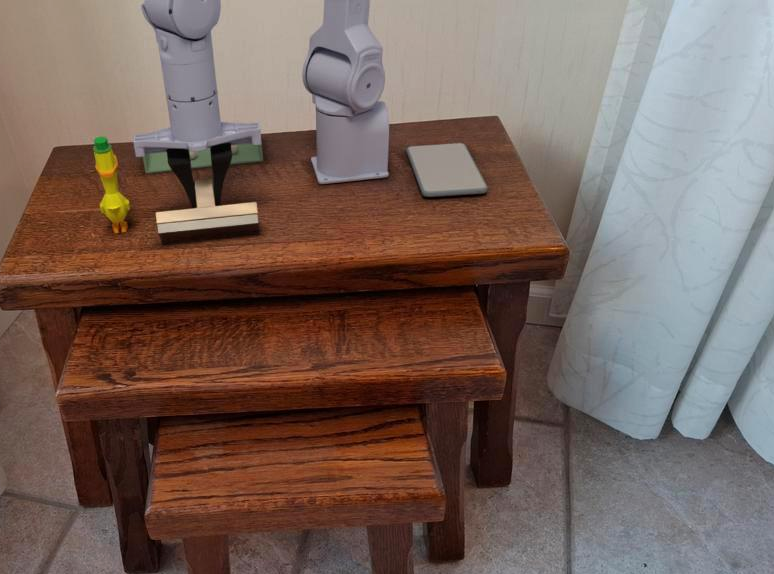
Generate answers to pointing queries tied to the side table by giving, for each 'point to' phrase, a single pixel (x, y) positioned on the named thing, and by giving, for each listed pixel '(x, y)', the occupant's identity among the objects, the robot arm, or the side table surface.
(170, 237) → the brush
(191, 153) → the crumb
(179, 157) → the robot arm
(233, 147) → the crumb
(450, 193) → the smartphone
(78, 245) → the side table surface
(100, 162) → the toy figure
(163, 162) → the dustpan
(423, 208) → the side table surface
